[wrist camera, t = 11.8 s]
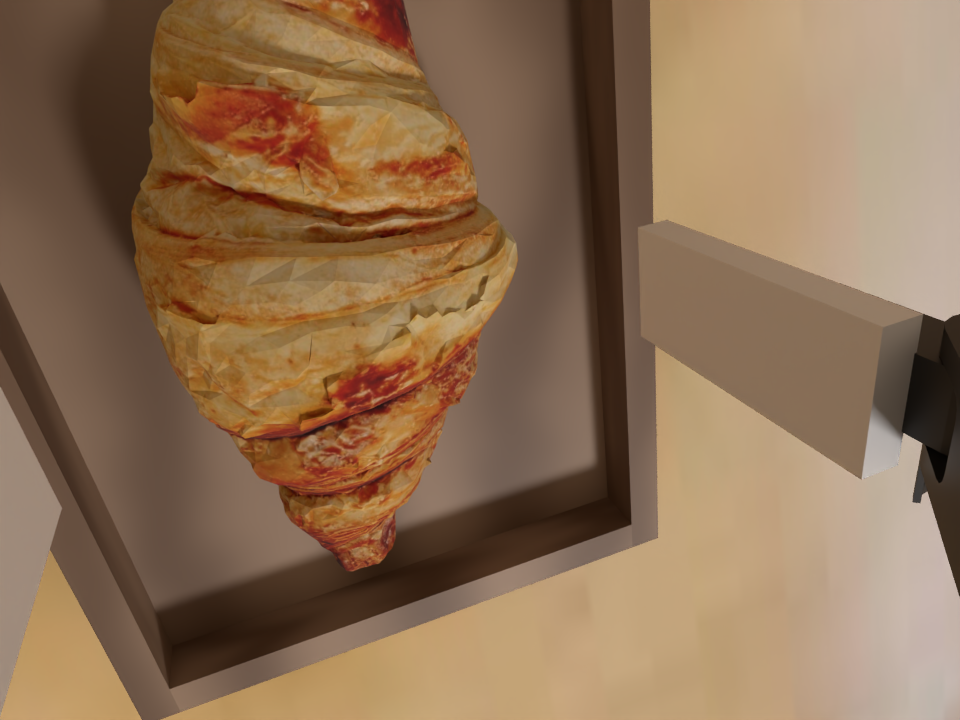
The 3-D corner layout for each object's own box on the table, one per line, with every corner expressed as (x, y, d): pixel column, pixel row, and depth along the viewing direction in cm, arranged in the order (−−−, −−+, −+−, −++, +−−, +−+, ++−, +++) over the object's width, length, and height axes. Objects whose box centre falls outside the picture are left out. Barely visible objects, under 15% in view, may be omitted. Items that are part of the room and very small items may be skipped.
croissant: (156, -153, 19) (-109, -270, 12) (521, -186, 18) (467, -342, 10) (276, 490, 28) (164, 646, 21) (527, 506, 26) (500, 680, 19)
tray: (151, 659, 27) (145, 724, 24) (-371, -385, 13) (-510, -486, 11) (621, 497, 32) (657, 537, 29) (582, -389, 18) (642, -459, 16)
